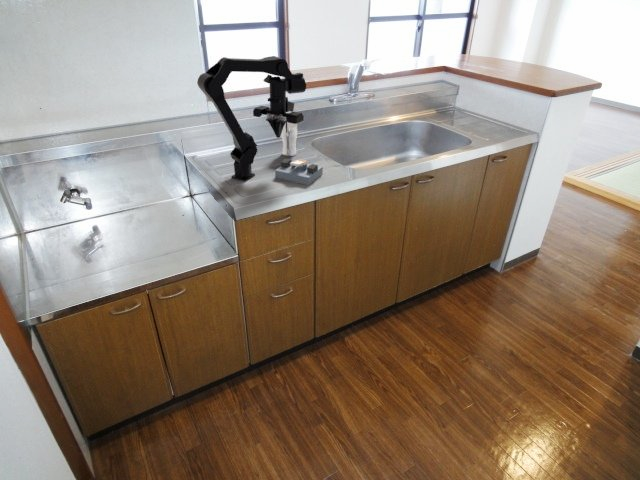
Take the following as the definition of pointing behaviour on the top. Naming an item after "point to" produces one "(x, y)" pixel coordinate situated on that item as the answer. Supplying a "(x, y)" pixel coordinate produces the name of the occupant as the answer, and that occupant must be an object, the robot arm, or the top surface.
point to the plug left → (286, 163)
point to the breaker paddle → (298, 162)
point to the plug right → (312, 168)
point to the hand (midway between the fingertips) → (278, 137)
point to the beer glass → (289, 139)
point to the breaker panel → (298, 174)
